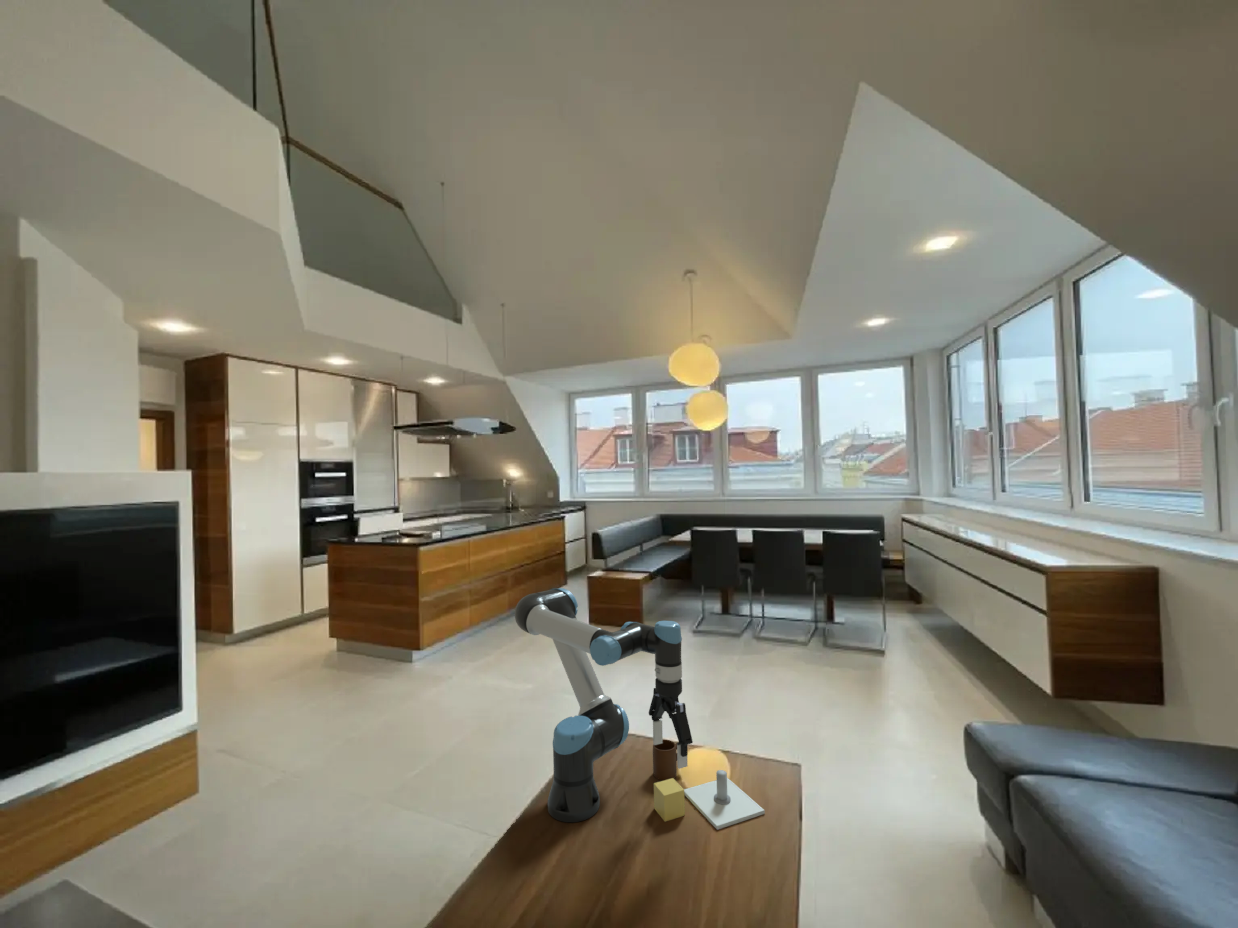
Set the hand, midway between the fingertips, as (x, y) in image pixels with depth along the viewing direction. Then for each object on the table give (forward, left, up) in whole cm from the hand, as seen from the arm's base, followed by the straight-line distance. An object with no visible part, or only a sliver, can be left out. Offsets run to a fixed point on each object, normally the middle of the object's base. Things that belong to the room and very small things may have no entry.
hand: (669, 754), depth 141 cm
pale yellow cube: (-3, +1, -17) cm, 17 cm away
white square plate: (0, +17, -17) cm, 24 cm away
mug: (-20, +11, -17) cm, 28 cm away
